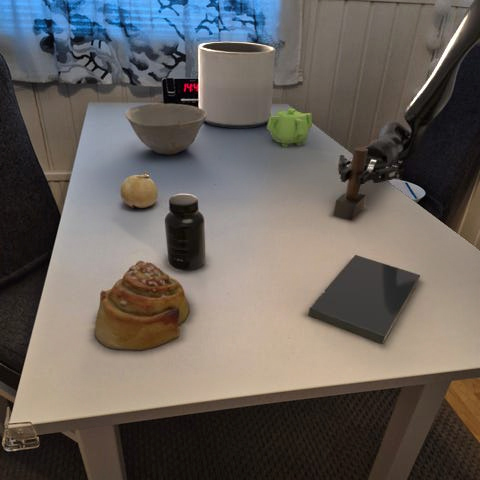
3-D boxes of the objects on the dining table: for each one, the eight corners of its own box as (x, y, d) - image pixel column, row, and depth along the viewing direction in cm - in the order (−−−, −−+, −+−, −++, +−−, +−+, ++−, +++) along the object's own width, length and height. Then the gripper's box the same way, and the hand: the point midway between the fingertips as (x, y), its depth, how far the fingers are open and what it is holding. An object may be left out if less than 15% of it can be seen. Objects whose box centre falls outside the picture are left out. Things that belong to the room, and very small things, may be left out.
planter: (231, 134, 143) (233, 55, 129) (184, 117, 157) (181, 44, 144) (285, 122, 157) (292, 49, 143) (237, 107, 171) (239, 40, 158)
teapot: (311, 140, 141) (315, 107, 135) (301, 150, 133) (305, 115, 127) (275, 135, 145) (278, 102, 138) (264, 144, 136) (266, 110, 130)
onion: (139, 215, 95) (135, 183, 90) (114, 205, 98) (110, 173, 94) (166, 204, 100) (163, 172, 96) (141, 194, 104) (138, 164, 99)
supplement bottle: (178, 249, 84) (174, 188, 77) (211, 256, 83) (211, 194, 75) (161, 267, 79) (155, 203, 72) (196, 275, 77) (194, 210, 70)
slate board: (353, 261, 83) (355, 254, 82) (418, 282, 78) (420, 274, 77) (308, 315, 70) (309, 307, 69) (382, 344, 65) (384, 336, 64)
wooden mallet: (345, 204, 103) (357, 142, 95) (363, 209, 101) (377, 146, 93) (333, 215, 99) (344, 151, 90) (352, 220, 97) (365, 155, 88)
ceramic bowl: (116, 159, 121) (111, 120, 115) (145, 135, 139) (142, 100, 133) (195, 167, 119) (194, 127, 113) (214, 141, 137) (214, 106, 131)
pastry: (193, 292, 73) (192, 249, 68) (180, 353, 62) (178, 307, 57) (113, 287, 73) (106, 244, 69) (85, 348, 62) (74, 302, 57)
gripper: (352, 135, 105) (322, 154, 93) (411, 147, 99) (388, 169, 88) (346, 167, 109) (317, 188, 98) (402, 180, 104) (379, 204, 92)
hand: (351, 179), depth 93 cm, fingers closed on wooden mallet, 3 cm apart
